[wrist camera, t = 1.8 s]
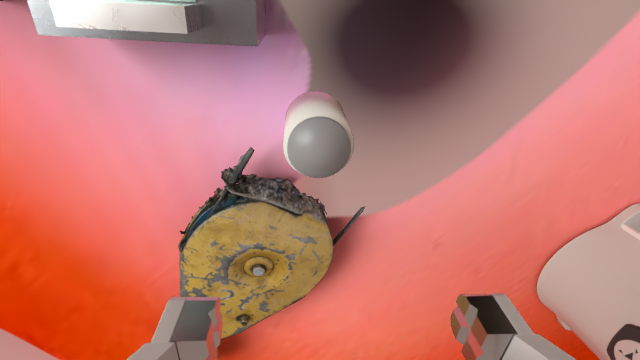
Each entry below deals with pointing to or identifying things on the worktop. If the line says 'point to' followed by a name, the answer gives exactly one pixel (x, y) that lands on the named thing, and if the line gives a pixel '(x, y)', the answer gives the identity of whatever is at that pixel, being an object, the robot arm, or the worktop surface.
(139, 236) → the worktop surface
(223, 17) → the motor
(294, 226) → the pulley block
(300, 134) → the white domed cylinder
